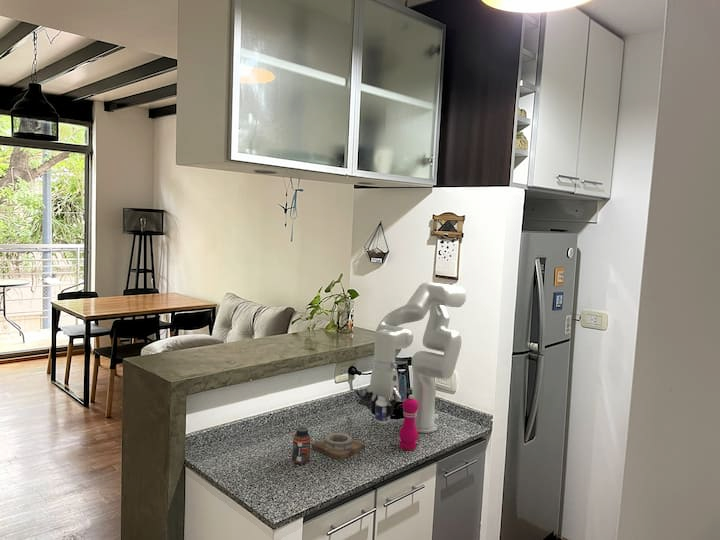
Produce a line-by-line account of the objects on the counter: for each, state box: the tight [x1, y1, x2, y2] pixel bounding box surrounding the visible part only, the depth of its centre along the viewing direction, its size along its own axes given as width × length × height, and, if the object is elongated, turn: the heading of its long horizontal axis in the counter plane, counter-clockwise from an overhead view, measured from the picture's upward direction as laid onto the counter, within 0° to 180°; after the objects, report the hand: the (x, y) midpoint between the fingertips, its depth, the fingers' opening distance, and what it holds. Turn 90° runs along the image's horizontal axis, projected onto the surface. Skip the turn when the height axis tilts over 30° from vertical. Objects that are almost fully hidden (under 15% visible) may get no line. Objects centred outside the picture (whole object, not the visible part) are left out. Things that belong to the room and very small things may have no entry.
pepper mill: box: [398, 394, 419, 451], centre depth 198 cm, size 7×7×20 cm
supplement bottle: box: [291, 426, 311, 465], centre depth 182 cm, size 6×6×11 cm
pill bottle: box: [374, 395, 391, 424], centre depth 193 cm, size 5×5×10 cm
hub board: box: [310, 432, 366, 461], centre depth 194 cm, size 14×14×4 cm
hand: (382, 412), depth 193 cm, fingers closed on pill bottle, 5 cm apart
